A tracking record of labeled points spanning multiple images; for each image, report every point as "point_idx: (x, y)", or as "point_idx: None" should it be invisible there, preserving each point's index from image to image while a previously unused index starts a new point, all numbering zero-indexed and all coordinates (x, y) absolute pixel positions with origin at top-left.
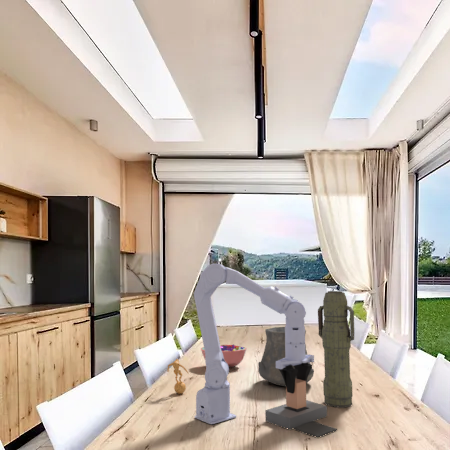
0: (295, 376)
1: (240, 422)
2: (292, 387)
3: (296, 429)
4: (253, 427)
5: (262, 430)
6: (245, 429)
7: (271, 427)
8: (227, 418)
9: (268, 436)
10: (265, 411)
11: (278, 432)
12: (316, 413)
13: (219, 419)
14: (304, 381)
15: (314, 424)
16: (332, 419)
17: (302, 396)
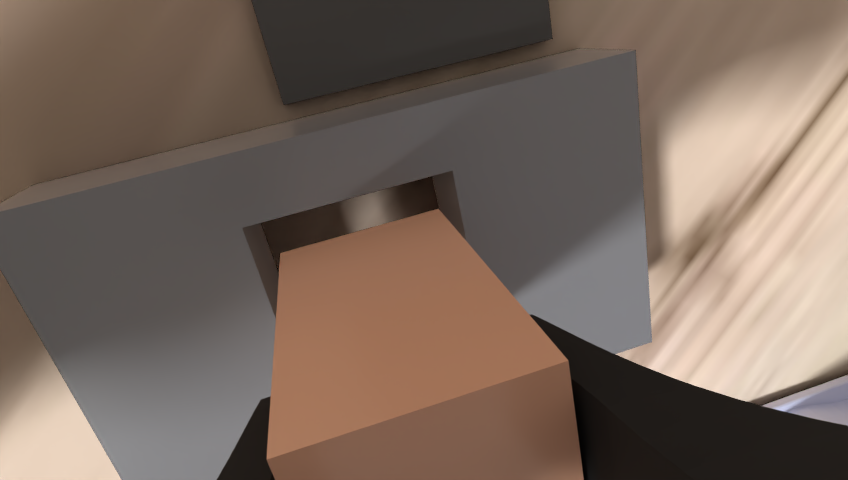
0: (687, 460)
1: (738, 342)
2: (591, 345)
3: (547, 4)
4: (741, 228)
5: (736, 147)
6: (800, 217)
7: (650, 171)
8: (784, 404)
9: (788, 16)
10: (645, 335)
11: (681, 50)
12: (198, 153)
13: (829, 402)
14: (313, 442)
15: (327, 15)
16: (16, 86)
17: (360, 284)
